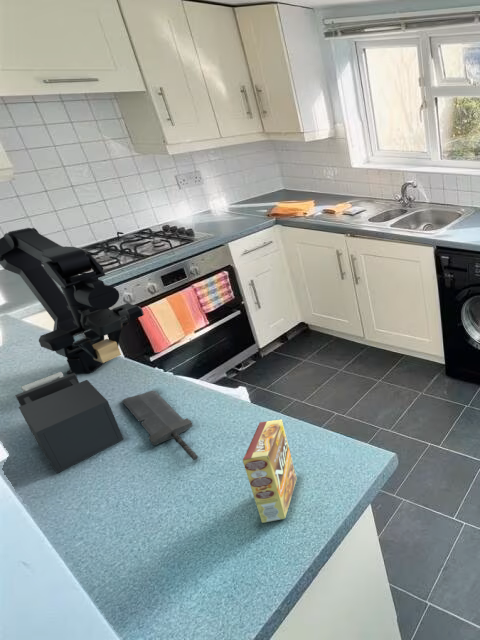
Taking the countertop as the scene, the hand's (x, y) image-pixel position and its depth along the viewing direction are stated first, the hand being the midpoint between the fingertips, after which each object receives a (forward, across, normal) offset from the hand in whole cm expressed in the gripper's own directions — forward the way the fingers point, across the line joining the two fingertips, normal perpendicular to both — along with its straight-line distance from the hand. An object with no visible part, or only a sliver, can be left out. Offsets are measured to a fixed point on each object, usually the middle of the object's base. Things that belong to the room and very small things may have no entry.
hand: (106, 353), depth 109 cm
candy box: (+8, -10, -70) cm, 71 cm away
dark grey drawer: (+7, -14, -9) cm, 18 cm away
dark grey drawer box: (+8, -16, -19) cm, 26 cm away
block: (+1, 0, 0) cm, 1 cm away
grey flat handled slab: (+8, -6, -30) cm, 32 cm away
